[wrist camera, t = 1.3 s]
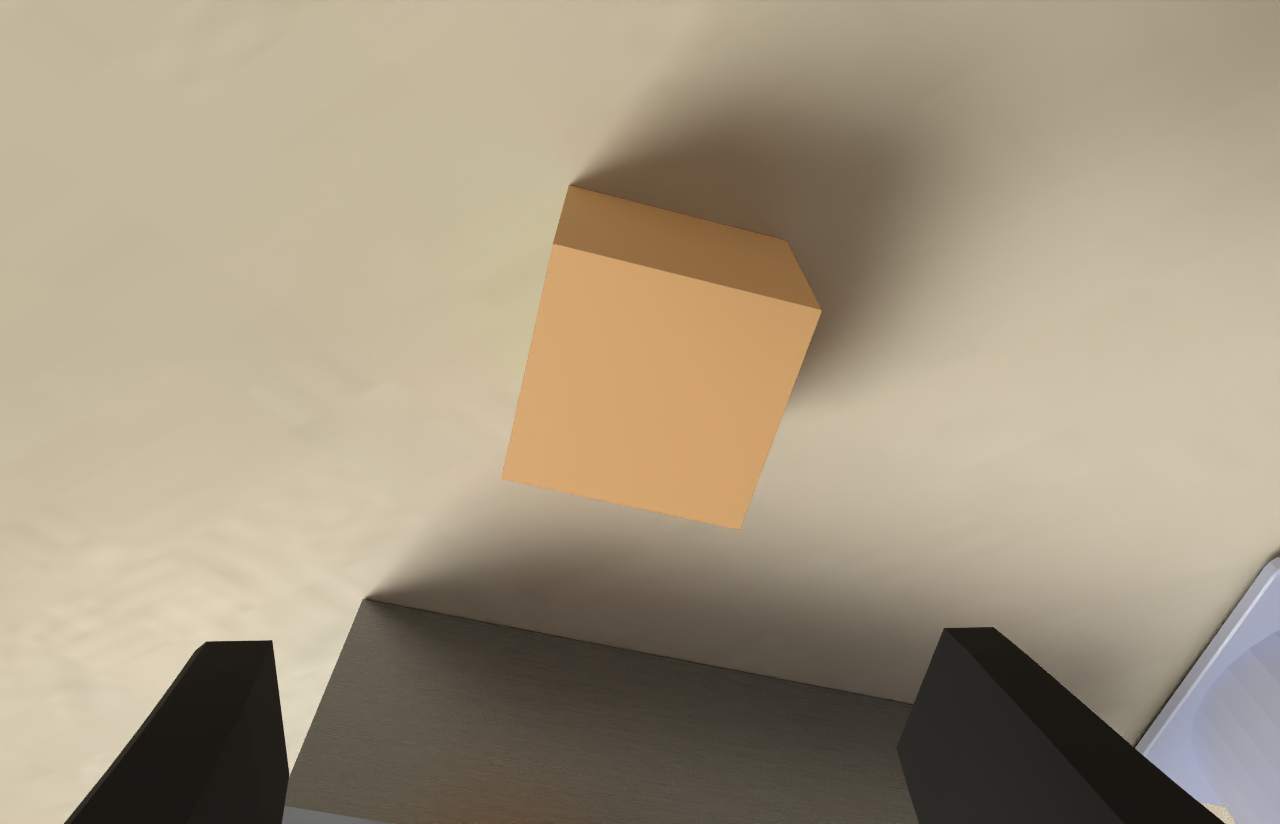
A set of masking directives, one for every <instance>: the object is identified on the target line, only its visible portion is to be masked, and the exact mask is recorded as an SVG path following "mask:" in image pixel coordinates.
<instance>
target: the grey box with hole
mask: <svg viewBox="0 0 1280 824" xmlns="http://www.w3.org/2000/svg"><path fill="white" fill-rule="evenodd" d="M912 707H913V705H911V704H906V703H900V702H895V701H890V700H885V699H880V698H874V697H869V696H864V695H859V694H854V693H848V692H843V691H838V690H833V689H828V688H822V687H817V686H812V685H807V684H802V683H796V682H791V681H786V680H781V679H776V678H770V677H765V676H760V675H755V674H750V673H744V672H739V671H734V670H729V669H724V668H718V667H713V666H708V665H703V664H698V663H692V662H687V661H682V660H677V659H672V658H666V657H661V656H656V655H651V654H646V653H640V652H635V651H630V650H625V649H620V648H614V647H609V646H604V645H599V644H594V643H589V642H583V641H578V640H573V639H568V638H563V637H557V636H552V635H547V634H542V633H537V632H531V631H526V630H521V629H516V628H511V627H505V626H500V625H495V624H490V623H485V622H479V621H474V620H469V619H464V618H459V617H453V616H448V615H443V614H438V613H433V612H427V611H422V610H417V609H412V608H407V607H401V606H396V605H391V604H386V603H381V602H375V601H370V600H365V599H363V600H362V603H361V605H360V607H359V610H358V612H357V615H356V617H355V620H354V622H353V624H352V627H351V629H350V632H349V634H348V636H347V639H346V641H345V644H344V646H343V649H342V651H341V653H340V656H339V658H338V661H337V663H336V666H335V668H334V670H333V673H332V675H331V678H330V680H329V682H328V685H327V687H326V690H325V692H324V695H323V697H322V699H321V702H320V704H319V707H318V709H317V711H316V714H315V716H314V719H313V721H312V724H311V726H310V728H309V731H308V733H307V736H306V738H305V740H304V743H303V745H302V748H301V750H300V753H299V755H298V757H297V760H296V762H295V765H294V767H293V770H292V772H291V774H290V777H289V780H288V787H287V793H286V800H285V806H284V813H283V819H282V824H919V822H918V819H917V816H916V813H915V810H914V807H913V803H912V800H911V797H910V794H909V790H908V787H907V784H906V780H905V777H904V773H903V770H902V766H901V763H900V759H899V756H898V752H897V749H896V747H897V745H898V742H899V740H900V737H901V735H902V732H903V730H904V727H905V725H906V722H907V720H908V717H909V715H910V712H911V710H912Z"/></svg>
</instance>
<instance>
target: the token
mask: <svg viewBox="0 0 1280 824" xmlns="http://www.w3.org/2000/svg"><path fill="white" fill-rule="evenodd" d="M821 312H822V309H821V307H820V305H819V303H818V301H817V299H816V297H815V295H814V293H813V291H812V289H811V288H810V286H809V284H808V282H807V280H806V278H805V276H804V274H803V272H802V270H801V268H800V266H799V264H798V262H797V260H796V258H795V256H794V254H793V253H792V251H791V249H790V247H789V245H788V243H787V241H786V240H782V239H778V238H774V237H770V236H766V235H762V234H758V233H755V232H751V231H747V230H743V229H739V228H735V227H731V226H727V225H723V224H719V223H715V222H711V221H708V220H704V219H700V218H696V217H692V216H688V215H684V214H680V213H676V212H672V211H668V210H665V209H661V208H657V207H653V206H649V205H645V204H641V203H637V202H633V201H629V200H625V199H622V198H618V197H614V196H610V195H606V194H602V193H598V192H594V191H590V190H586V189H582V188H578V187H575V186H571V185H569V187H568V191H567V194H566V198H565V202H564V205H563V209H562V213H561V216H560V220H559V224H558V227H557V231H556V235H555V238H554V242H553V246H552V250H551V255H550V260H549V264H548V269H547V273H546V278H545V282H544V287H543V291H542V296H541V301H540V305H539V310H538V314H537V319H536V323H535V328H534V332H533V337H532V341H531V346H530V351H529V355H528V360H527V364H526V369H525V373H524V378H523V382H522V387H521V392H520V396H519V401H518V405H517V410H516V414H515V419H514V423H513V428H512V433H511V437H510V442H509V446H508V451H507V455H506V460H505V464H504V469H503V474H502V478H501V479H503V480H508V481H513V482H517V483H522V484H527V485H531V486H536V487H541V488H545V489H550V490H555V491H559V492H564V493H569V494H573V495H578V496H583V497H587V498H592V499H597V500H601V501H606V502H611V503H615V504H620V505H625V506H629V507H634V508H639V509H644V510H648V511H653V512H658V513H662V514H667V515H672V516H676V517H681V518H686V519H690V520H695V521H700V522H704V523H709V524H714V525H718V526H723V527H728V528H732V529H737V530H740V528H741V525H742V523H743V520H744V517H745V515H746V512H747V509H748V507H749V504H750V501H751V499H752V496H753V493H754V491H755V488H756V485H757V483H758V480H759V477H760V475H761V472H762V469H763V467H764V464H765V461H766V459H767V456H768V453H769V451H770V448H771V445H772V443H773V440H774V437H775V435H776V432H777V429H778V427H779V424H780V421H781V419H782V416H783V413H784V411H785V408H786V405H787V403H788V400H789V397H790V395H791V392H792V389H793V387H794V384H795V381H796V379H797V376H798V373H799V371H800V368H801V365H802V363H803V360H804V357H805V355H806V352H807V349H808V347H809V344H810V341H811V339H812V336H813V333H814V331H815V328H816V325H817V323H818V320H819V317H820V315H821Z"/></svg>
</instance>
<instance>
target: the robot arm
mask: <svg viewBox="0 0 1280 824" xmlns="http://www.w3.org/2000/svg"><path fill="white" fill-rule="evenodd" d="M896 749H897V752H898V756H899V759H900V763H901V766H902V770H903V773H904V777H905V780H906V784H907V787H908V790H909V794H910V797H911V800H912V803H913V807H914V810H915V813H916V816H917V819H918V822H919V824H1225V823H1224V822H1223V821H1221V820H1220V819H1219V818H1218V817H1216V816H1215V815H1214V814H1213V813H1212V812H1210V811H1209V810H1208V809H1207V808H1205V807H1204V806H1203V805H1202V804H1201V803H1199V802H1202V803H1208V804H1213V805H1218V806H1224V807H1225V808H1226V809H1227V811H1228V812H1229V814H1230V815H1231V817H1232V818H1233V819H1234V821H1235V822H1236V824H1280V557H1277V558H1275V559H1274V560H1272V561H1270V562H1269V563H1268V564H1267V565H1266V566H1265V567H1264V569H1263V570H1262V571H1261V573H1260V574H1259V576H1258V577H1257V578H1256V580H1255V581H1254V583H1253V584H1252V585H1251V587H1250V588H1249V590H1248V591H1247V592H1246V594H1245V595H1244V596H1243V598H1242V599H1241V601H1240V602H1239V603H1238V605H1237V606H1236V608H1235V609H1234V610H1233V612H1232V613H1231V615H1230V616H1229V617H1228V619H1227V620H1226V622H1225V623H1224V624H1223V626H1222V627H1221V629H1220V630H1219V631H1218V633H1217V634H1216V636H1215V637H1214V638H1213V640H1212V641H1211V643H1210V644H1209V645H1208V647H1207V648H1206V650H1205V651H1204V652H1203V654H1202V655H1201V657H1200V658H1199V659H1198V661H1197V662H1196V664H1195V665H1194V666H1193V668H1192V669H1191V671H1190V672H1189V673H1188V675H1187V676H1186V677H1185V679H1184V680H1183V682H1182V683H1181V684H1180V686H1179V687H1178V689H1177V690H1176V691H1175V693H1174V694H1173V696H1172V697H1171V698H1170V700H1169V701H1168V703H1167V704H1166V705H1165V707H1164V708H1163V710H1162V711H1161V712H1160V714H1159V715H1158V717H1157V718H1156V719H1155V721H1154V722H1153V724H1152V725H1151V726H1150V728H1149V729H1148V731H1147V732H1146V733H1145V735H1144V736H1143V738H1142V739H1141V740H1140V742H1139V743H1138V745H1137V746H1136V747H1135V748H1134V747H1133V746H1132V745H1130V744H1129V743H1128V742H1127V741H1126V740H1125V739H1123V738H1122V737H1121V736H1120V735H1119V734H1118V733H1116V732H1115V731H1114V730H1113V729H1112V728H1111V727H1110V726H1108V725H1107V724H1106V723H1105V722H1104V721H1103V720H1101V719H1100V718H1099V717H1098V716H1097V715H1096V714H1095V713H1093V712H1092V711H1091V710H1090V709H1089V708H1088V707H1087V706H1085V705H1084V704H1083V703H1082V702H1081V701H1080V700H1079V699H1077V698H1076V697H1075V696H1074V695H1073V694H1072V693H1071V692H1069V691H1068V690H1067V689H1066V688H1065V687H1064V686H1062V685H1061V684H1060V683H1059V682H1058V681H1057V680H1056V679H1054V678H1053V677H1052V676H1051V675H1050V674H1049V673H1047V672H1046V671H1045V670H1044V669H1043V668H1042V667H1041V666H1039V665H1038V664H1037V663H1036V662H1035V661H1034V660H1032V659H1031V658H1030V657H1029V656H1028V655H1027V654H1025V653H1024V652H1023V651H1022V650H1021V649H1019V648H1018V647H1017V646H1016V645H1015V644H1013V643H1012V642H1011V641H1010V640H1009V639H1007V638H1006V637H1005V636H1004V635H1002V634H1001V633H1000V632H999V631H997V630H996V629H995V628H994V627H980V628H944V630H943V632H942V635H941V637H940V640H939V642H938V645H937V647H936V650H935V652H934V655H933V657H932V660H931V662H930V665H929V667H928V670H927V672H926V675H925V677H924V680H923V682H922V685H921V687H920V690H919V692H918V695H917V697H916V700H915V702H914V705H913V707H912V710H911V712H910V715H909V717H908V720H907V722H906V725H905V727H904V730H903V732H902V735H901V737H900V740H899V742H898V745H897V747H896ZM288 780H289V768H288V761H287V753H286V745H285V737H284V729H283V721H282V713H281V706H280V698H279V690H278V682H277V674H276V666H275V658H274V651H273V643H272V640H269V641H214V642H205V643H204V644H203V645H202V646H200V647H199V648H198V649H197V650H195V652H194V653H193V655H192V656H191V658H190V659H189V661H188V662H187V663H186V665H185V666H184V668H183V669H182V671H181V672H180V673H179V675H178V676H177V678H176V679H175V680H174V682H173V683H172V685H171V686H170V687H169V689H168V690H167V691H166V693H165V694H164V696H163V697H162V698H161V700H160V701H159V703H158V704H157V705H156V707H155V708H154V709H153V711H152V712H151V713H150V715H149V716H148V717H147V719H146V720H145V721H144V723H143V724H142V725H141V727H140V728H139V729H138V731H137V732H136V733H135V735H134V736H133V737H132V739H131V740H130V741H129V743H128V744H127V745H126V746H125V748H124V749H123V750H122V752H121V753H120V754H119V756H118V757H117V758H116V759H115V761H114V762H113V763H112V765H111V766H110V767H109V769H108V770H107V771H106V772H105V774H104V775H103V776H102V777H101V779H100V780H99V781H98V782H97V784H96V785H95V786H94V787H93V788H92V790H91V791H90V792H89V793H88V795H87V796H86V797H85V798H84V800H83V801H82V802H81V803H80V805H79V806H78V807H77V808H76V809H75V811H74V812H73V813H72V814H71V816H70V817H69V818H68V819H67V821H66V822H65V823H64V824H282V819H283V813H284V806H285V800H286V793H287V787H288Z"/></svg>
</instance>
